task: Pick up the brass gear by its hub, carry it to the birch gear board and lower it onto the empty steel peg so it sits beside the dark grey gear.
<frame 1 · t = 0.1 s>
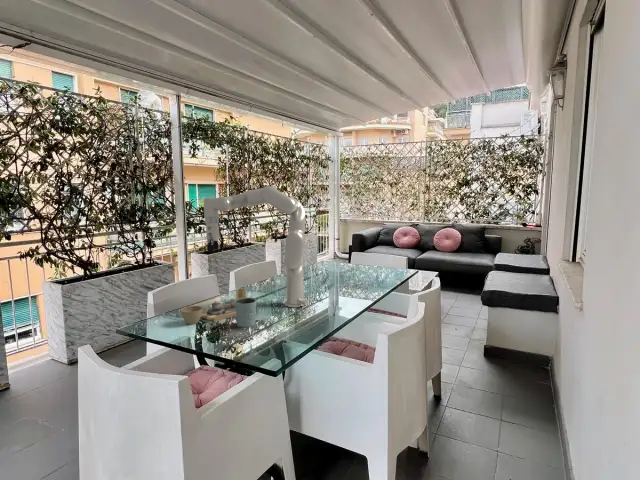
hand: (213, 250, 211), 31 cm above the table, tool pointing down, fingers open, 9 cm apart
gear board: (226, 312, 202), on the table
grey cup: (246, 324, 184), on the table
brass gear: (241, 301, 221), on the table
flower pot: (192, 323, 187), on the table
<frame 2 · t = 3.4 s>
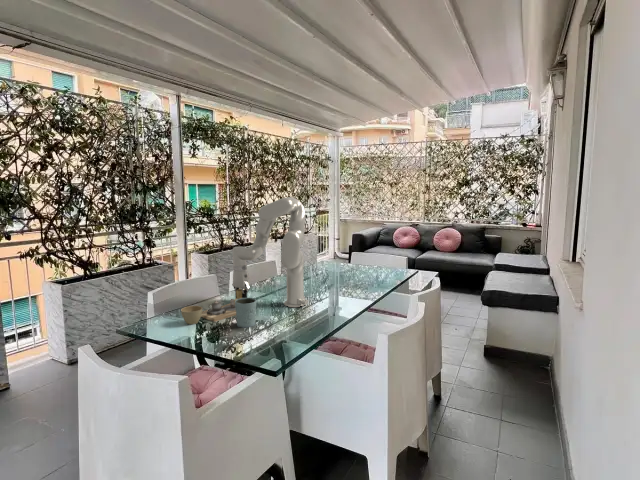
hand: (241, 298, 220), 2 cm above the table, tool pointing down, fingers closed on brass gear, 5 cm apart
brass gear: (241, 301, 221), on the table, touching gripper
everything else where it was.
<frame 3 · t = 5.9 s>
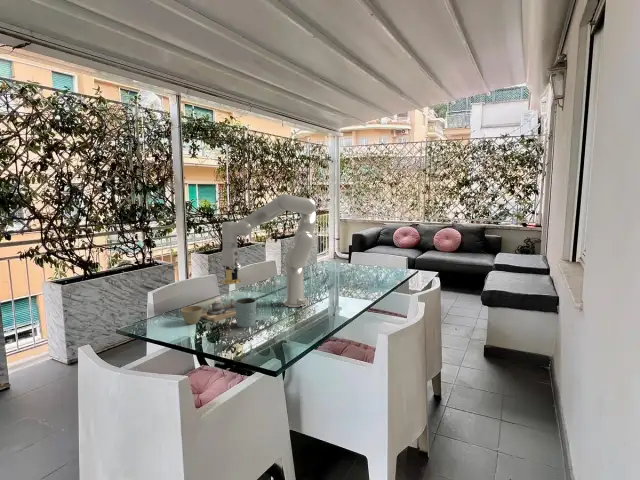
hand: (231, 278, 203), 18 cm above the table, tool pointing down, fingers closed on brass gear, 5 cm apart
brass gear: (231, 282, 204), point 16 cm above the table, touching gripper
everything else where it was.
when the fingers open (5 cm above the table, at t = 8.5 s): brass gear drops 1 cm, resting on gear board.
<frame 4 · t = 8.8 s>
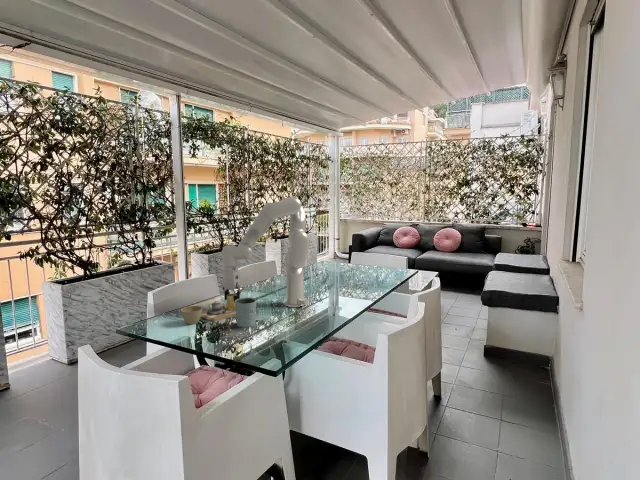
hand: (232, 300, 204), 5 cm above the table, tool pointing down, fingers open, 8 cm apart
brass gear: (232, 307, 205), point 2 cm above the table, touching gear board
everything else where it was.
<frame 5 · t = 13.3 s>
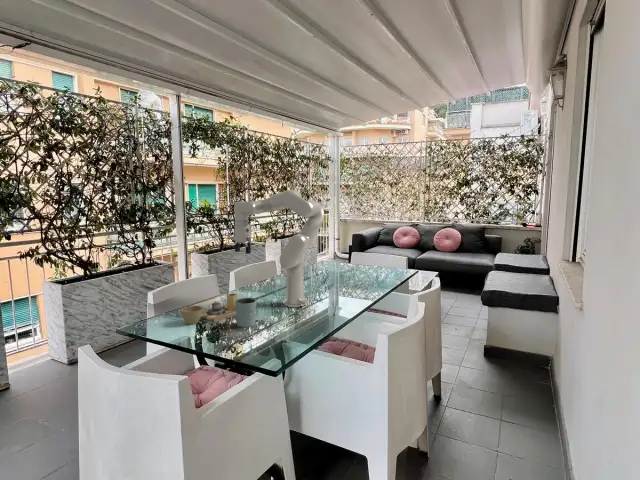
hand: (242, 252, 221), 28 cm above the table, tool pointing down, fingers open, 9 cm apart
nothing on the table moved.
at the end: brass gear 0.0 cm from the target spot on the gear board, point 1.7 cm above the gear board's base; brass gear tilted 0°; the gripper is holding nothing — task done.
